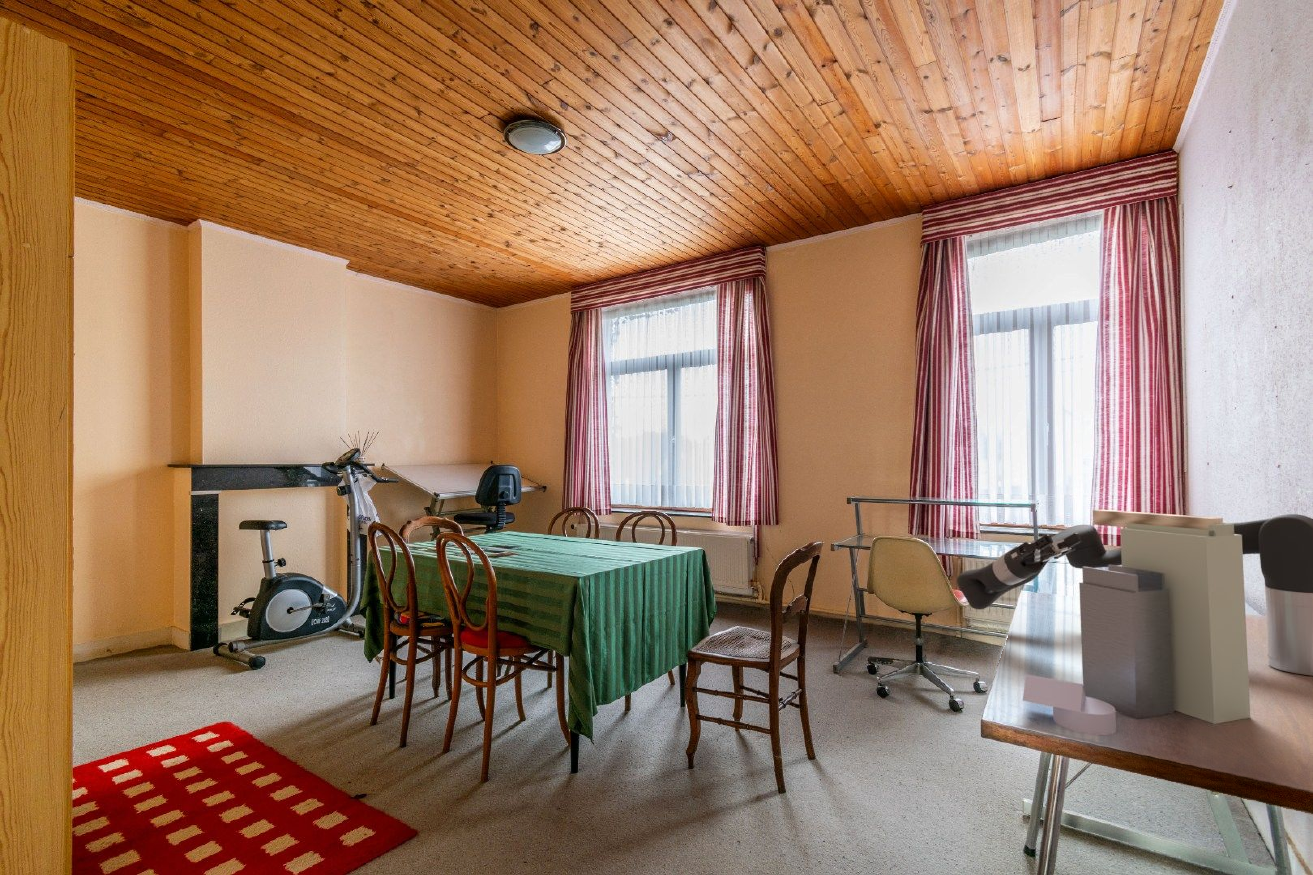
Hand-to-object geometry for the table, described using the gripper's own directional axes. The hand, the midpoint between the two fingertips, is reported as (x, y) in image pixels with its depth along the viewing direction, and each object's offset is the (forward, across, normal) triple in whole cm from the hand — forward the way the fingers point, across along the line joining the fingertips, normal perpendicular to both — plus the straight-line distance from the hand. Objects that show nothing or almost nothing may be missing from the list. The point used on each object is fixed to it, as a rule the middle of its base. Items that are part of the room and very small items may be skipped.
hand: (1064, 537), depth 146 cm
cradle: (+7, +16, -37) cm, 41 cm away
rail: (+22, +5, -9) cm, 25 cm away
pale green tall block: (+10, +5, -38) cm, 40 cm away
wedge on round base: (+9, +32, -38) cm, 50 cm away
